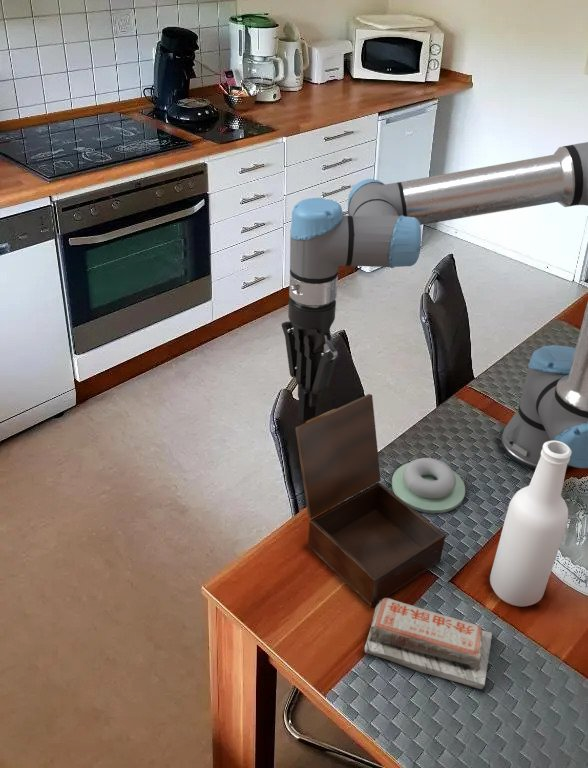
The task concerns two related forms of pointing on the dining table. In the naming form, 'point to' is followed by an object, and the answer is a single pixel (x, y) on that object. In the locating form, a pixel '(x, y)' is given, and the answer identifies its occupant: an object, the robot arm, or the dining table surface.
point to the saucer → (425, 503)
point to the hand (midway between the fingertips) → (306, 416)
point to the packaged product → (430, 642)
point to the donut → (425, 486)
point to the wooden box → (375, 543)
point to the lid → (338, 454)
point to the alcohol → (532, 531)
